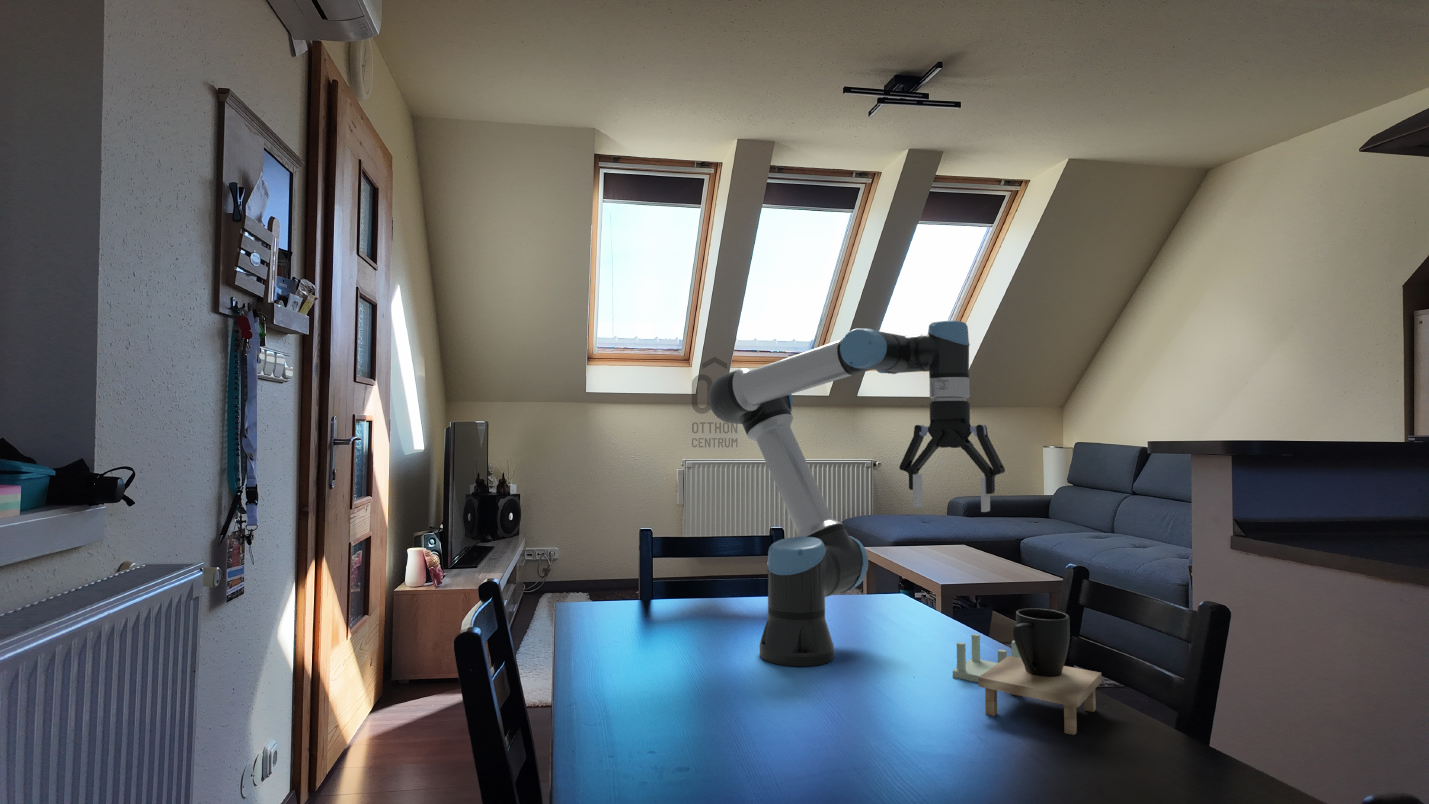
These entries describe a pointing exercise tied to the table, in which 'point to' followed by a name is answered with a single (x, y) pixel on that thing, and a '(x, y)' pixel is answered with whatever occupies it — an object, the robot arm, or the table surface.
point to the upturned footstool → (977, 660)
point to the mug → (1042, 640)
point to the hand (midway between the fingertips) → (950, 509)
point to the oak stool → (1042, 688)
